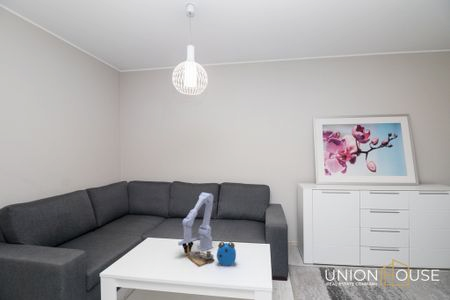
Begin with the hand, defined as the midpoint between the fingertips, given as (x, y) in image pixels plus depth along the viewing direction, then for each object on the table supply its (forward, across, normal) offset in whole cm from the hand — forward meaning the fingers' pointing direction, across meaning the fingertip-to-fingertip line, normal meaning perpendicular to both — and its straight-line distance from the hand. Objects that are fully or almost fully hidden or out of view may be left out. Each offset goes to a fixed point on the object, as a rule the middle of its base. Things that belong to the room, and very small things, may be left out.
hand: (187, 252), depth 167 cm
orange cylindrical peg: (+2, 0, 0) cm, 2 cm away
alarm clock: (+2, -15, +28) cm, 32 cm away
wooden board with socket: (+2, -4, +12) cm, 13 cm away
